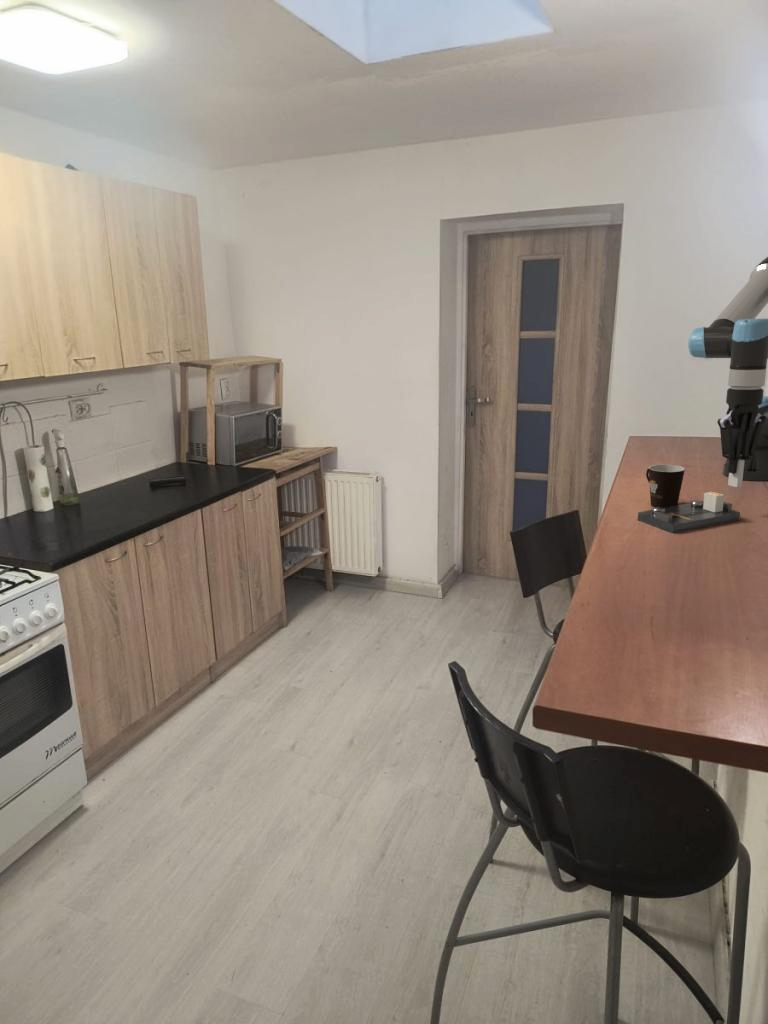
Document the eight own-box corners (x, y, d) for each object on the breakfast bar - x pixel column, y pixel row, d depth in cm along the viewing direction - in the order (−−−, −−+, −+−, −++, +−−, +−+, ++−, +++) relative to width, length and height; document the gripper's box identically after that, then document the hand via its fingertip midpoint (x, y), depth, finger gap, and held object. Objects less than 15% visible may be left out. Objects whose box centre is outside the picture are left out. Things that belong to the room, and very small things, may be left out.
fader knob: (710, 507, 163) (712, 491, 162) (722, 511, 160) (724, 494, 159) (703, 508, 162) (704, 492, 161) (714, 512, 159) (716, 495, 158)
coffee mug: (685, 510, 169) (688, 471, 166) (649, 510, 171) (651, 472, 168) (675, 498, 180) (678, 461, 177) (641, 497, 182) (644, 462, 179)
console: (701, 508, 170) (702, 494, 169) (739, 520, 159) (740, 505, 158) (637, 520, 163) (638, 506, 162) (672, 533, 153) (673, 518, 152)
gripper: (752, 384, 161) (742, 479, 167) (711, 388, 156) (701, 485, 163) (780, 386, 154) (768, 485, 160) (737, 390, 150) (726, 492, 156)
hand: (734, 485), depth 162 cm, fingers closed
